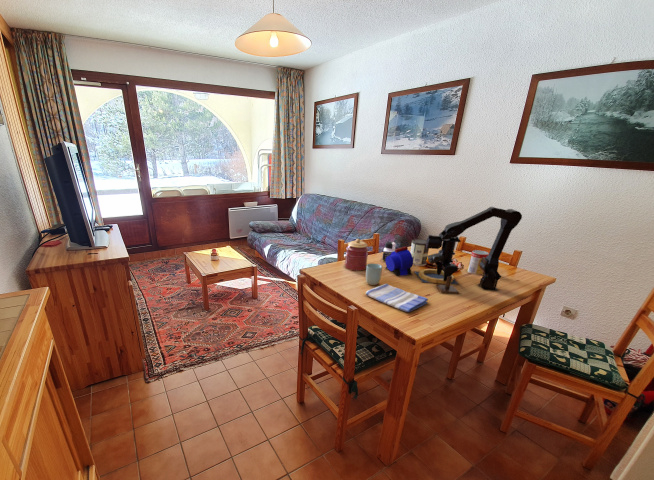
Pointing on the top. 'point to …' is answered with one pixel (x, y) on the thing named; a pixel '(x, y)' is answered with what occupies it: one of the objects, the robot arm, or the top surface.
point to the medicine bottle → (388, 250)
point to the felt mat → (433, 277)
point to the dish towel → (397, 297)
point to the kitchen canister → (356, 255)
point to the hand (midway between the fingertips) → (441, 278)
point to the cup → (373, 273)
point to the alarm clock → (400, 261)
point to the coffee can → (419, 252)
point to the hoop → (430, 279)
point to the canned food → (476, 261)
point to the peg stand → (447, 287)
